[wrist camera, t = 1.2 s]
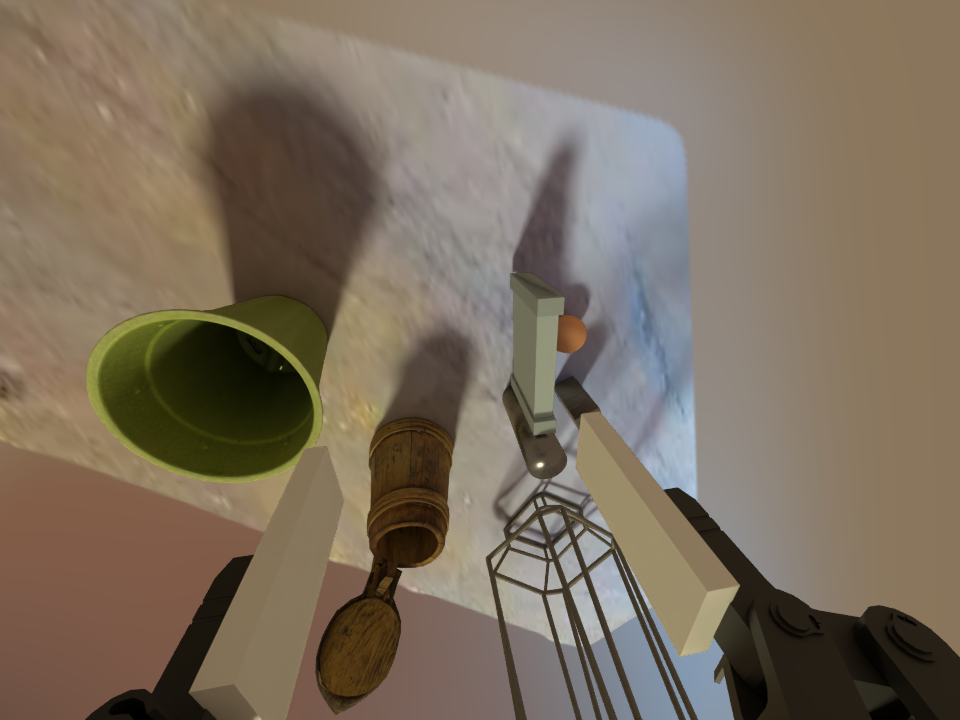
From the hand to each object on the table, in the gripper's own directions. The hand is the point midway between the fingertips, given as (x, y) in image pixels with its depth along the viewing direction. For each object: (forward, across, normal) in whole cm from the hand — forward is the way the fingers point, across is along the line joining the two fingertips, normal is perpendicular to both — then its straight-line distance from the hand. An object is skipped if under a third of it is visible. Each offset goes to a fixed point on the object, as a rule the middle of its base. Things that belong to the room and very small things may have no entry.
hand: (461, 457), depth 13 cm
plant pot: (+20, -14, -1) cm, 24 cm away
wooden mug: (+20, -6, -18) cm, 27 cm away
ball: (+20, +11, -3) cm, 23 cm away
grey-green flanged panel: (+19, +7, -3) cm, 20 cm away
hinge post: (+20, +7, -10) cm, 23 cm away
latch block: (+20, +12, -10) cm, 25 cm away
